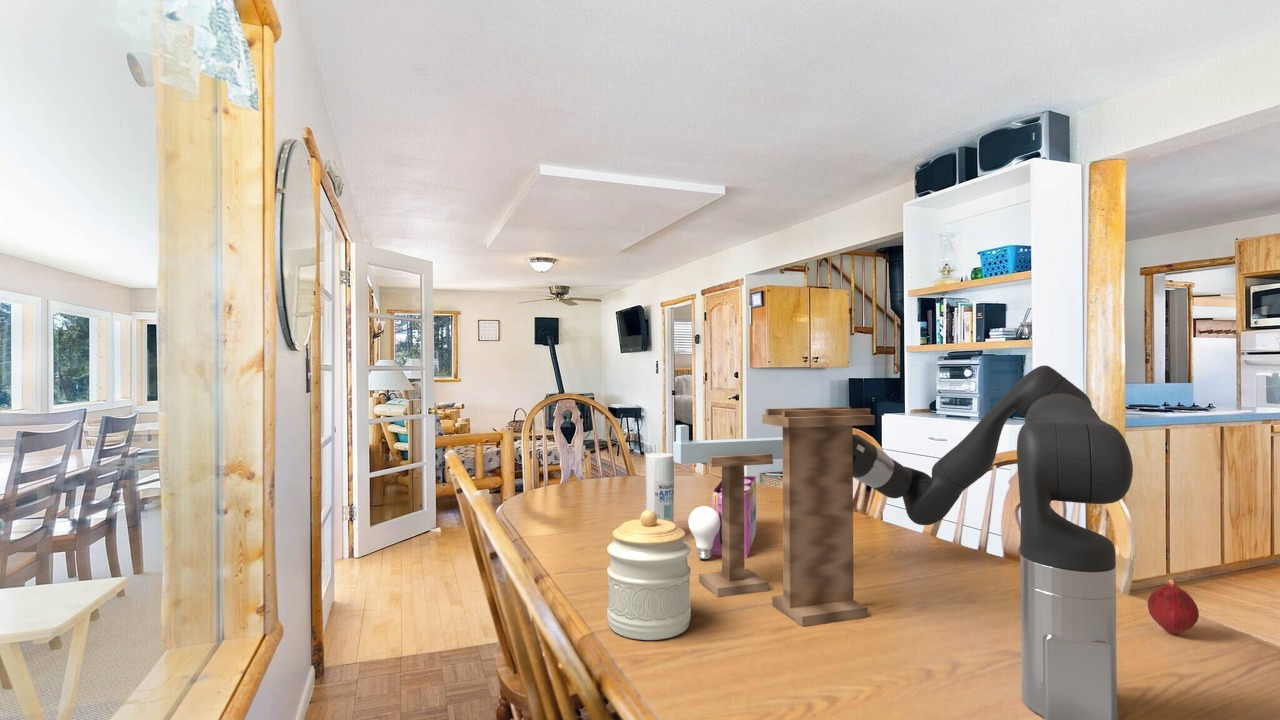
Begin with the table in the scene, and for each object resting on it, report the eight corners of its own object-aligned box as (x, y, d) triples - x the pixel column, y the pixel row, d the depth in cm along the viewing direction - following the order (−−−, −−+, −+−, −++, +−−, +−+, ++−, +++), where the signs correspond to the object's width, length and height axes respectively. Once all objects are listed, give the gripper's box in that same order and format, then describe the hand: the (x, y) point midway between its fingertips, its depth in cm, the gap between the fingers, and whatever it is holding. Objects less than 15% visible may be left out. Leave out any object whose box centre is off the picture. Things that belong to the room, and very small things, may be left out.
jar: (617, 646, 90) (617, 522, 90) (599, 613, 102) (599, 504, 102) (703, 636, 93) (703, 516, 93) (675, 604, 106) (675, 499, 106)
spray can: (661, 537, 148) (661, 451, 149) (680, 542, 143) (679, 454, 144) (639, 541, 144) (639, 454, 144) (658, 548, 139) (658, 457, 139)
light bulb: (682, 561, 129) (682, 507, 130) (696, 553, 135) (696, 501, 135) (712, 566, 126) (712, 511, 126) (725, 557, 132) (725, 505, 132)
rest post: (752, 576, 120) (751, 449, 121) (773, 590, 113) (773, 454, 113) (694, 582, 116) (693, 451, 117) (712, 597, 109) (712, 457, 109)
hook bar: (799, 454, 121) (798, 421, 121) (809, 457, 118) (809, 422, 118) (673, 461, 113) (673, 424, 113) (680, 463, 110) (680, 426, 110)
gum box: (747, 560, 130) (747, 494, 130) (709, 557, 132) (709, 492, 132) (756, 531, 153) (756, 475, 153) (724, 529, 155) (724, 474, 156)
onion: (1208, 644, 90) (1208, 588, 90) (1162, 640, 91) (1162, 585, 92) (1182, 627, 96) (1182, 575, 96) (1139, 624, 97) (1139, 572, 97)
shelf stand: (843, 596, 110) (842, 406, 110) (878, 615, 101) (876, 409, 102) (761, 607, 105) (760, 408, 105) (791, 628, 96) (790, 411, 96)
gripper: (848, 440, 131) (789, 402, 127) (896, 448, 118) (833, 406, 114) (833, 472, 130) (773, 435, 126) (880, 484, 117) (815, 442, 112)
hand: (802, 421), depth 120 cm, fingers open, 8 cm apart
